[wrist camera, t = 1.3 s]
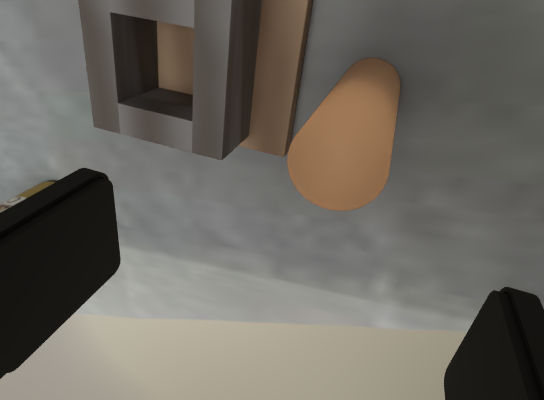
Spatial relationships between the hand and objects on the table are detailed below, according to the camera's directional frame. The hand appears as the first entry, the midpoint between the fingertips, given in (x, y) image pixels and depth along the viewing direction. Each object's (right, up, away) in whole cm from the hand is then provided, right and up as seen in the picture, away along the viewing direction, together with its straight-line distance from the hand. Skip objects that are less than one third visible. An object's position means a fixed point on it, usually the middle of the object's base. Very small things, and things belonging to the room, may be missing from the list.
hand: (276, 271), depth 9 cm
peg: (+7, +10, +17) cm, 21 cm away
